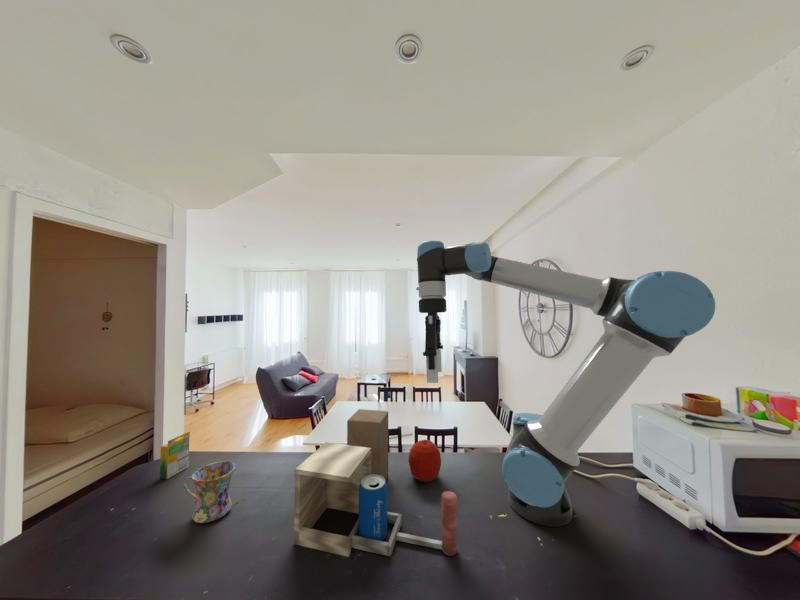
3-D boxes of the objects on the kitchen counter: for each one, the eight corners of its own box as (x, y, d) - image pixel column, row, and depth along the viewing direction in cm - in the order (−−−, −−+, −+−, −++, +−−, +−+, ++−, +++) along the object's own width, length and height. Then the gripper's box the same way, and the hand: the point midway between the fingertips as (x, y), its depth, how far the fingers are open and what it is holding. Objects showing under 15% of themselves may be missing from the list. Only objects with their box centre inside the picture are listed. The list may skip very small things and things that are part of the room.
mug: (241, 500, 75) (242, 460, 76) (221, 526, 66) (222, 480, 67) (194, 502, 75) (196, 461, 75) (168, 529, 65) (170, 482, 66)
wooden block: (380, 496, 77) (380, 422, 78) (346, 491, 79) (346, 420, 80) (388, 475, 87) (388, 410, 88) (358, 472, 89) (358, 408, 90)
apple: (419, 465, 93) (419, 430, 93) (447, 475, 87) (447, 437, 87) (402, 480, 85) (402, 441, 85) (431, 492, 79) (431, 450, 79)
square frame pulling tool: (458, 533, 64) (457, 483, 64) (456, 571, 54) (455, 512, 55) (364, 515, 69) (364, 470, 70) (347, 546, 60) (348, 494, 60)
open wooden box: (370, 512, 71) (371, 447, 72) (348, 556, 58) (348, 477, 59) (324, 503, 74) (325, 442, 75) (293, 544, 61) (295, 469, 62)
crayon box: (181, 466, 93) (183, 430, 93) (189, 467, 92) (190, 431, 93) (158, 478, 85) (160, 440, 86) (166, 480, 85) (168, 441, 85)
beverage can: (363, 551, 59) (363, 493, 60) (355, 530, 65) (355, 477, 66) (391, 541, 62) (391, 485, 62) (381, 521, 68) (381, 470, 68)
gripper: (424, 301, 89) (426, 368, 88) (411, 295, 65) (413, 387, 64) (447, 300, 88) (450, 368, 87) (443, 294, 64) (447, 388, 62)
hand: (434, 376), depth 75 cm, fingers open, 13 cm apart
